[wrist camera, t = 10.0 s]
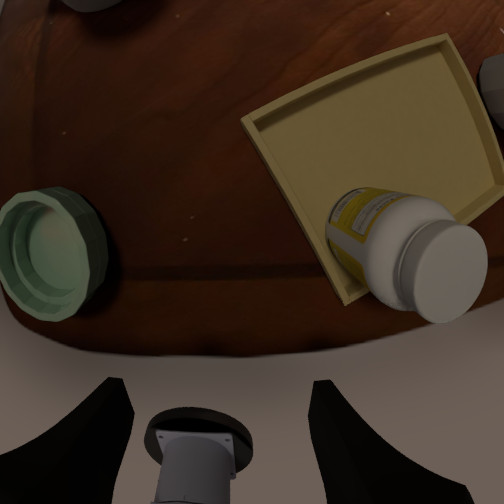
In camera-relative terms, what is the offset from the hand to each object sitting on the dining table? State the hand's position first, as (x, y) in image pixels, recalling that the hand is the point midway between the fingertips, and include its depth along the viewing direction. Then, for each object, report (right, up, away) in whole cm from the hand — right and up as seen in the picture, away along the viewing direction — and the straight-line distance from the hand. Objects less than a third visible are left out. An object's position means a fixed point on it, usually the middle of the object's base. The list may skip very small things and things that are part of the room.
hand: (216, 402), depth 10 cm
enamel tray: (+11, +12, +8) cm, 18 cm away
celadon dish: (-13, +6, +9) cm, 16 cm away
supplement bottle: (+8, +7, +9) cm, 14 cm away
